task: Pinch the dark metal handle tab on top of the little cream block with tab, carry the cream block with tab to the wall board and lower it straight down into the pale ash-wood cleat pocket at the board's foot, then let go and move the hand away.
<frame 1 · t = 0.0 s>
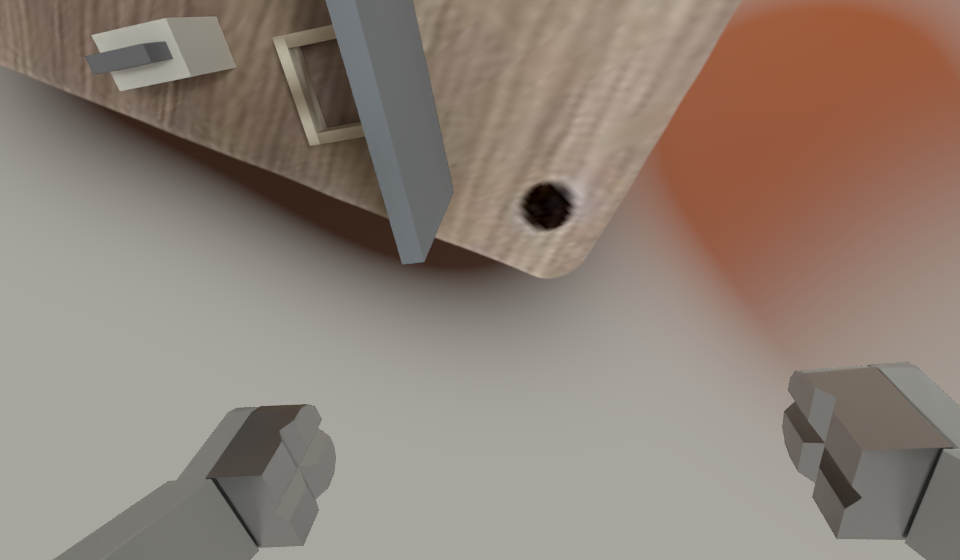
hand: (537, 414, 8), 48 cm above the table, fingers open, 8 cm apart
cream block with tab: (194, 49, 52), on the table
wall board: (417, 68, 51), on the table
cleat pocket: (360, 79, 52), on the table
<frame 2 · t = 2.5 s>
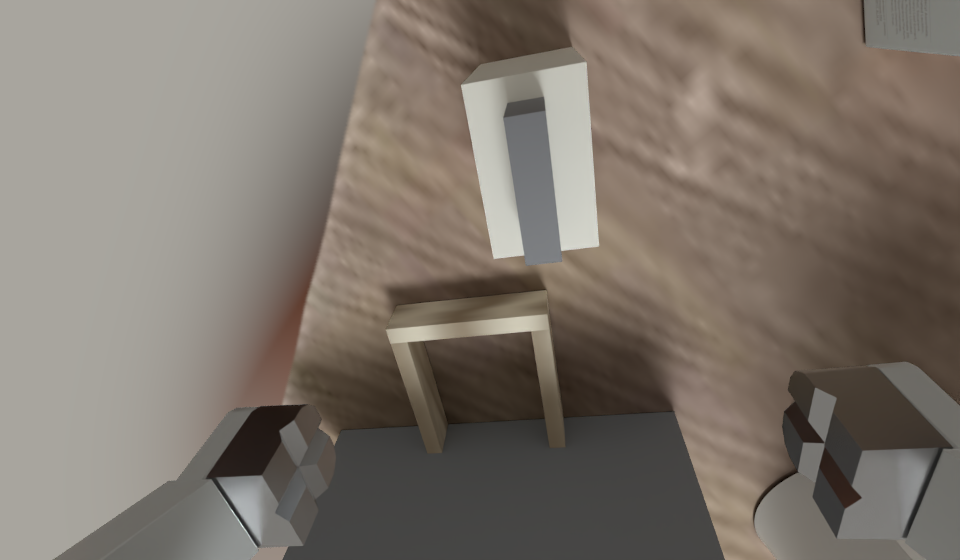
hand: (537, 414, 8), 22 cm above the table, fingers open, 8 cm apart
cream block with tab: (534, 130, 28), on the table
wall board: (499, 430, 40), on the table
cleat pocket: (485, 370, 37), on the table
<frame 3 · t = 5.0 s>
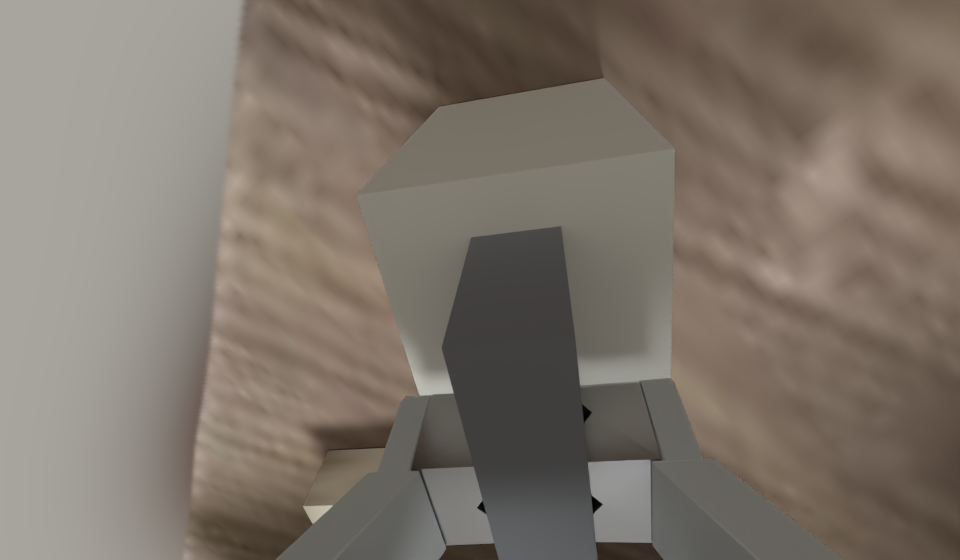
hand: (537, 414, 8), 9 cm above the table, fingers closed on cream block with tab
cream block with tab: (535, 215, 16), on the table, touching gripper
cleat pocket: (463, 532, 26), on the table
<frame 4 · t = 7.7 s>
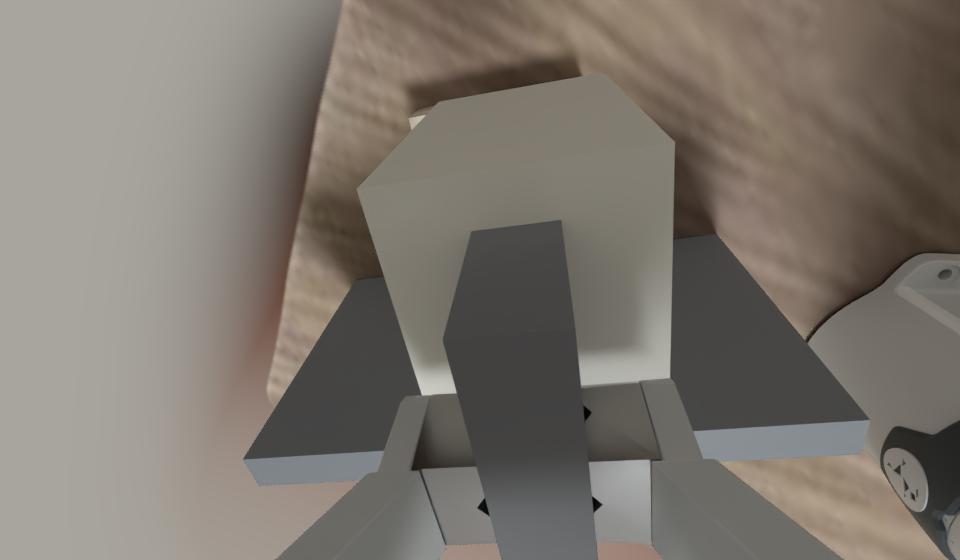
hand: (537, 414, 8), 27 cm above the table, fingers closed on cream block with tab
cream block with tab: (535, 211, 16), point 18 cm above the table, touching gripper
wall board: (526, 269, 37), on the table
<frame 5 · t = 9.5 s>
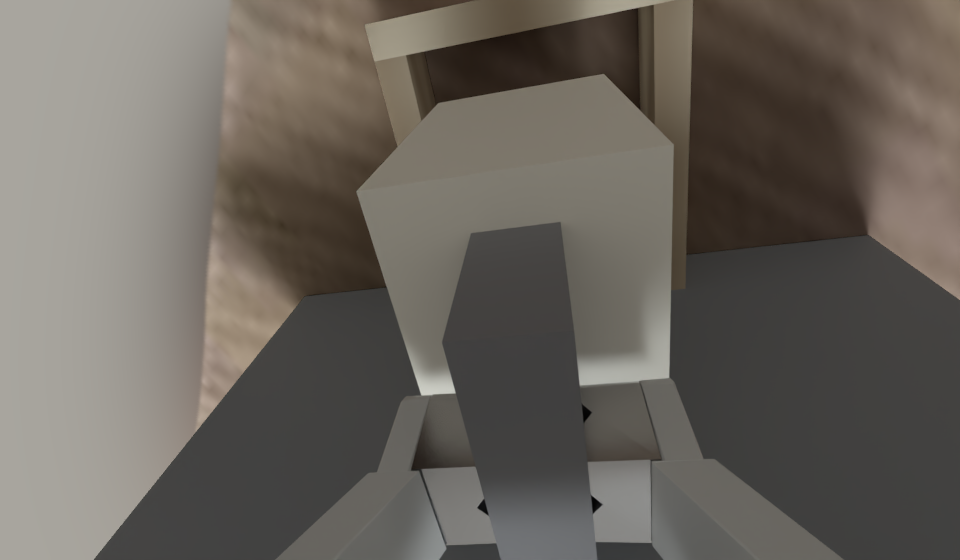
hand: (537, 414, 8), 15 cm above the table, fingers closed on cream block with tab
cream block with tab: (534, 212, 16), point 6 cm above the table, touching gripper
wall board: (558, 285, 25), on the table
cleat pocket: (542, 162, 21), on the table
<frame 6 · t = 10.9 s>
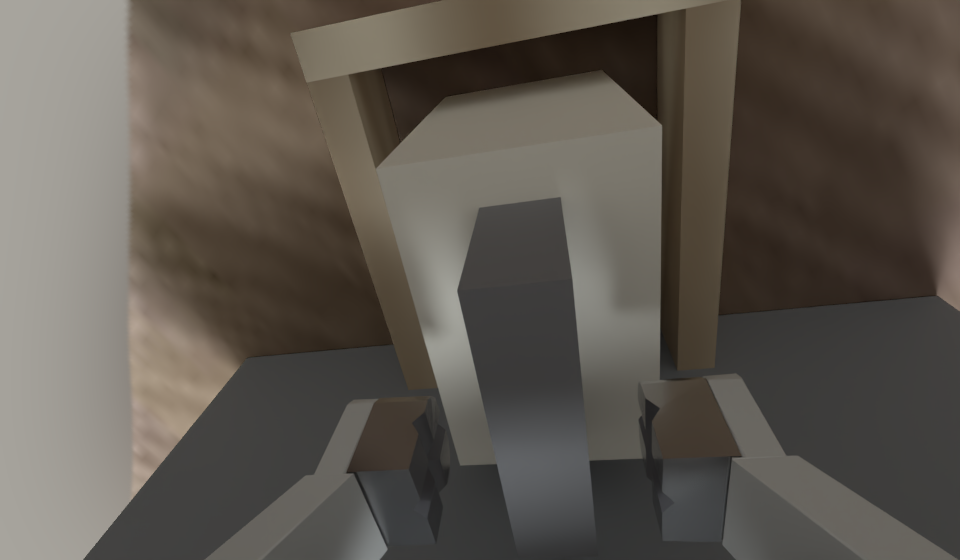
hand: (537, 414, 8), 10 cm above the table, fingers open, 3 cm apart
cream block with tab: (535, 201, 17), resting in cleat pocket
wall board: (553, 349, 20), on the table
cleat pocket: (533, 206, 17), on the table
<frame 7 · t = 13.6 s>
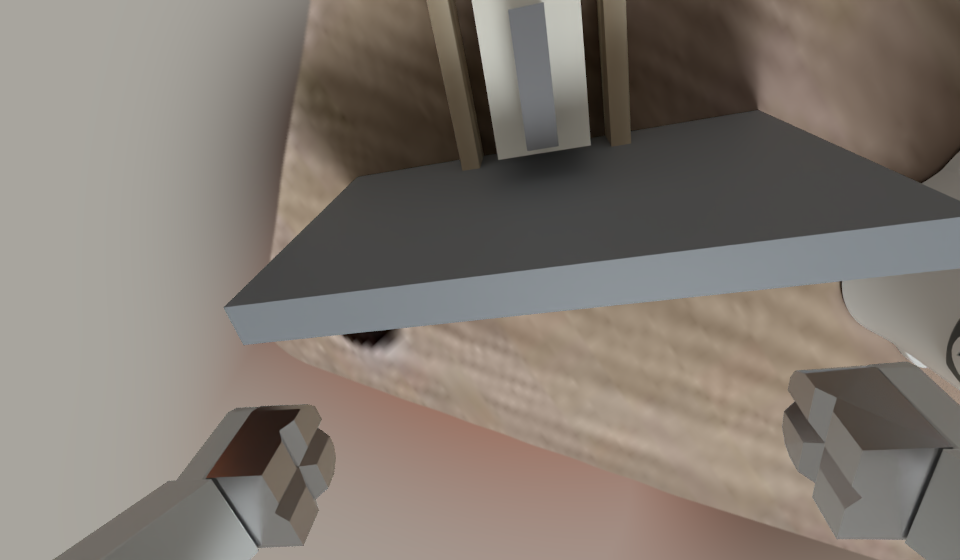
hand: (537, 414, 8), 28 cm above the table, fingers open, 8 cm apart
cream block with tab: (533, 58, 31), resting in cleat pocket
wall board: (544, 159, 34), on the table
cleat pocket: (532, 61, 31), on the table
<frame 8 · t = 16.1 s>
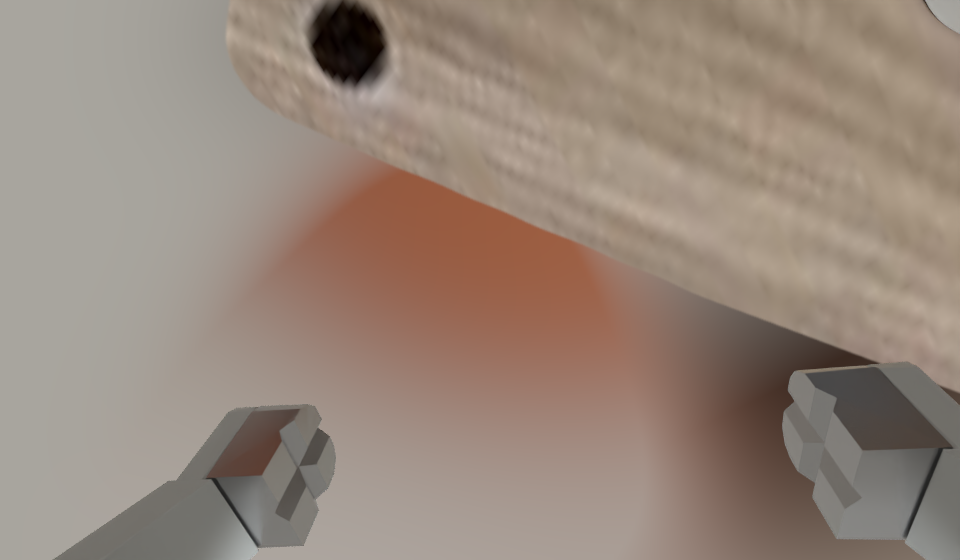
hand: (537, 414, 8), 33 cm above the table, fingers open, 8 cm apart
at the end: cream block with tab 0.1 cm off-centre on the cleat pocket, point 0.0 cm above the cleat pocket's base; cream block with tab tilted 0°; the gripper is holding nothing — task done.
